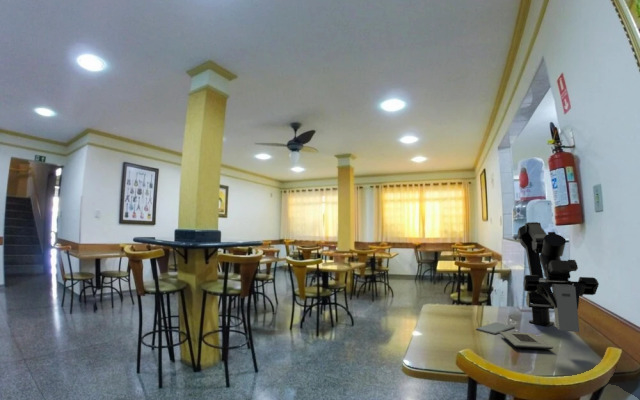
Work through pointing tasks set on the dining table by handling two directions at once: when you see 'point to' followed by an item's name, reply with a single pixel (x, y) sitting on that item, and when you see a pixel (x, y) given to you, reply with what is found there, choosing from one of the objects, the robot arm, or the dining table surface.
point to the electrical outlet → (526, 340)
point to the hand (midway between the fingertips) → (566, 307)
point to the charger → (565, 307)
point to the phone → (495, 328)
